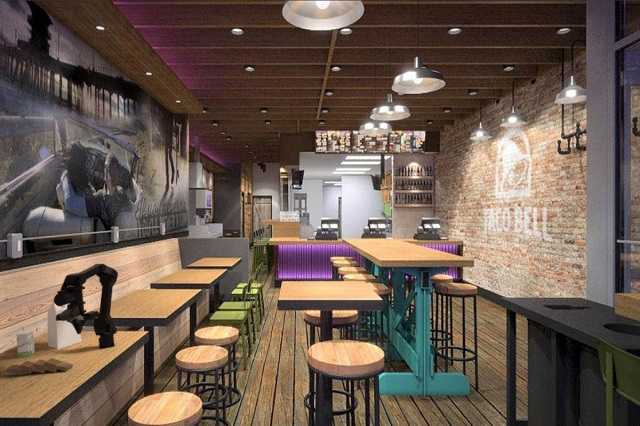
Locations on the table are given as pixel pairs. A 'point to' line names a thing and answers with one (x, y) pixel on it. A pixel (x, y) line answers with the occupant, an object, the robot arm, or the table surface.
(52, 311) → the milk
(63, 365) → the domino
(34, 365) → the domino
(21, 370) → the domino
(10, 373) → the domino
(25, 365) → the domino
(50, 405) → the table surface
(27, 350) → the ink box
